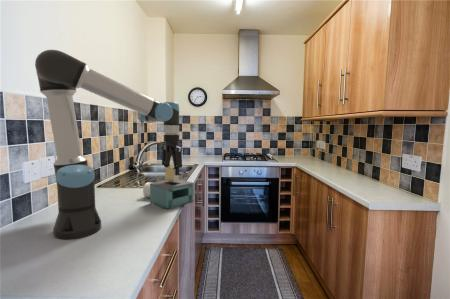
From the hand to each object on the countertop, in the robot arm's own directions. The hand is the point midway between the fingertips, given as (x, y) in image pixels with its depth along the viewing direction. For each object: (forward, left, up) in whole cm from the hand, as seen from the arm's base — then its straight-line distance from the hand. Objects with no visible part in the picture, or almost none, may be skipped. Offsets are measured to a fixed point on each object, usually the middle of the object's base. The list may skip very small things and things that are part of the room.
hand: (171, 180), depth 126 cm
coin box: (0, 0, -11) cm, 11 cm away
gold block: (0, 0, 0) cm, 0 cm away
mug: (+1, +15, -12) cm, 19 cm away
